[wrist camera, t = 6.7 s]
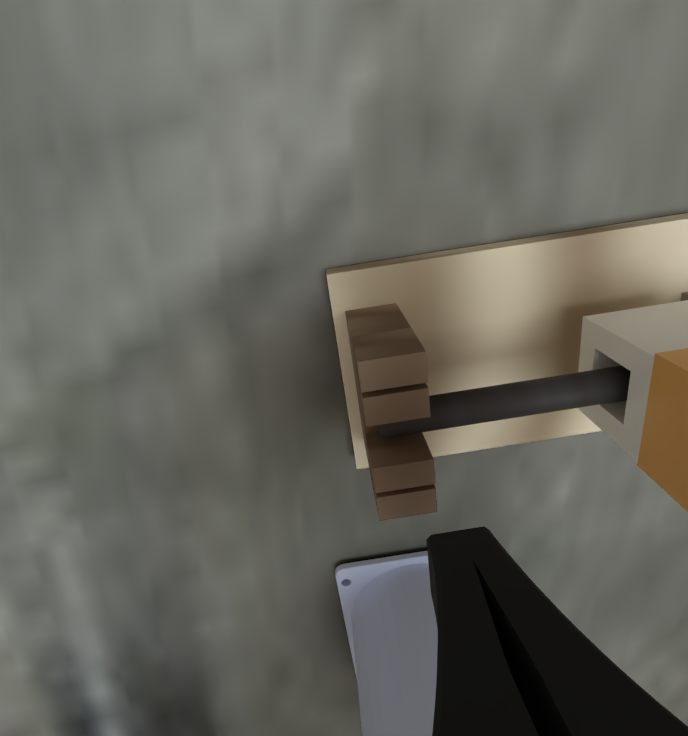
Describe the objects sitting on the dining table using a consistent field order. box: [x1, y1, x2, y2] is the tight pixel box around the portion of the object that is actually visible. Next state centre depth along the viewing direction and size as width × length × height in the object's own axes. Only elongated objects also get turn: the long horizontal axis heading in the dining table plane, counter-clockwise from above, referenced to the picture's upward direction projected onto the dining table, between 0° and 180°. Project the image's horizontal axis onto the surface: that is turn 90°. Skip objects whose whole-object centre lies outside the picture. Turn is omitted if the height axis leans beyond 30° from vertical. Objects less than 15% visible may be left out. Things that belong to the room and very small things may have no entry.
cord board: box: [326, 213, 688, 521], centre depth 17 cm, size 18×9×6 cm, turn 98°
